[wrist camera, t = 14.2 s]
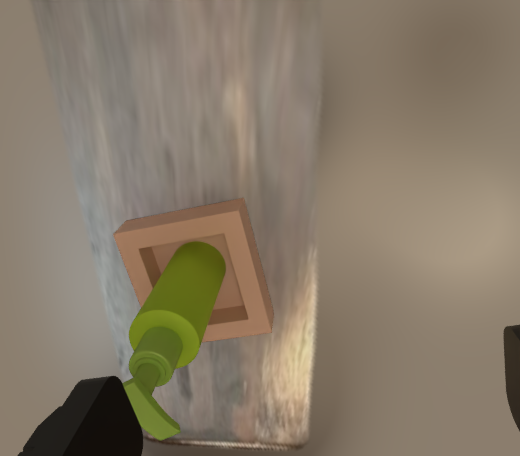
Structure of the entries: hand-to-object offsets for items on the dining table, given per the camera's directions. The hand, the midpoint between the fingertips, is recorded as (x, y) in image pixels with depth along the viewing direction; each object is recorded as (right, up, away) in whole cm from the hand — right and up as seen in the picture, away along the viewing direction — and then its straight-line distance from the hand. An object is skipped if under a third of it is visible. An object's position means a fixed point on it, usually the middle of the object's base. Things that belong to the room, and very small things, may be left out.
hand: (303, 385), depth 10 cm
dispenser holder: (-7, -1, +41) cm, 41 cm away
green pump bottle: (-7, -1, +40) cm, 41 cm away
